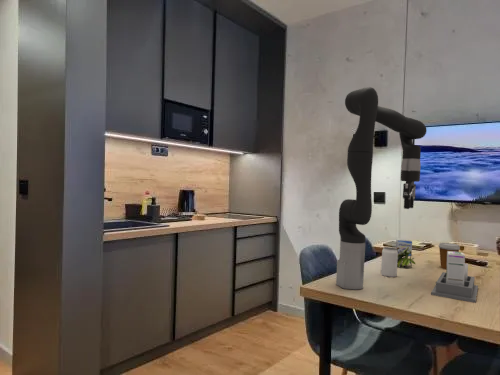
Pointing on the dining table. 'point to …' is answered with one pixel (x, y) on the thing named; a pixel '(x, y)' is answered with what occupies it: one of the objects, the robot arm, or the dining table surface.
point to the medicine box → (404, 245)
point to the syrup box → (455, 268)
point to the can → (389, 262)
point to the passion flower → (405, 258)
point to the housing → (456, 288)
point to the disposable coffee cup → (443, 252)
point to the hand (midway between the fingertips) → (408, 208)
